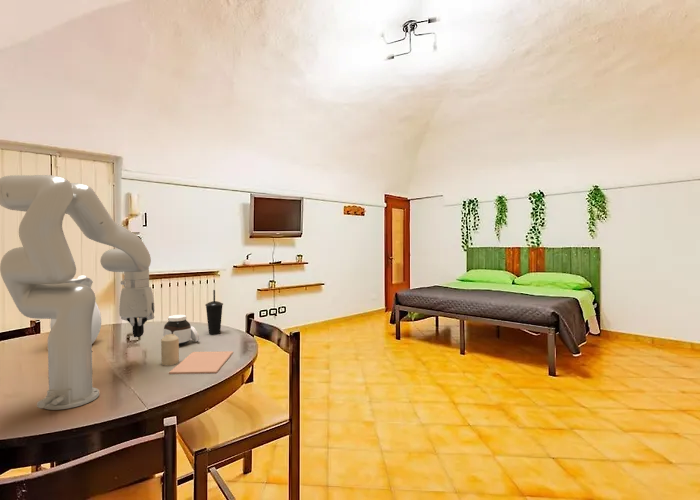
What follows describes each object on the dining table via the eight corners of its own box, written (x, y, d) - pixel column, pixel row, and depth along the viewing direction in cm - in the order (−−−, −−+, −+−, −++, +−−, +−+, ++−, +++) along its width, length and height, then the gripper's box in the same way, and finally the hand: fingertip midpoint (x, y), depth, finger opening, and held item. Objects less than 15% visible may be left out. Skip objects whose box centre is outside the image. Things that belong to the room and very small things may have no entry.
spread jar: (160, 345, 155) (160, 317, 155) (181, 338, 166) (180, 312, 166) (184, 348, 151) (184, 319, 151) (203, 341, 162) (203, 314, 162)
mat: (216, 373, 124) (216, 371, 124) (169, 374, 123) (168, 372, 123) (233, 352, 146) (233, 351, 146) (192, 353, 145) (192, 351, 145)
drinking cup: (204, 332, 177) (204, 289, 176) (222, 330, 180) (221, 288, 180) (206, 336, 170) (205, 291, 169) (224, 334, 173) (223, 290, 173)
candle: (172, 366, 131) (171, 337, 131) (157, 365, 132) (157, 336, 132) (182, 361, 136) (181, 333, 136) (168, 360, 137) (168, 332, 137)
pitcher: (96, 348, 151) (95, 278, 150) (43, 353, 145) (42, 279, 144) (109, 334, 173) (108, 272, 173) (64, 337, 167) (63, 274, 166)
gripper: (108, 285, 128) (110, 339, 129) (154, 285, 129) (155, 339, 130) (120, 282, 136) (121, 333, 137) (163, 282, 137) (164, 333, 138)
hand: (138, 336), depth 134 cm, fingers closed
